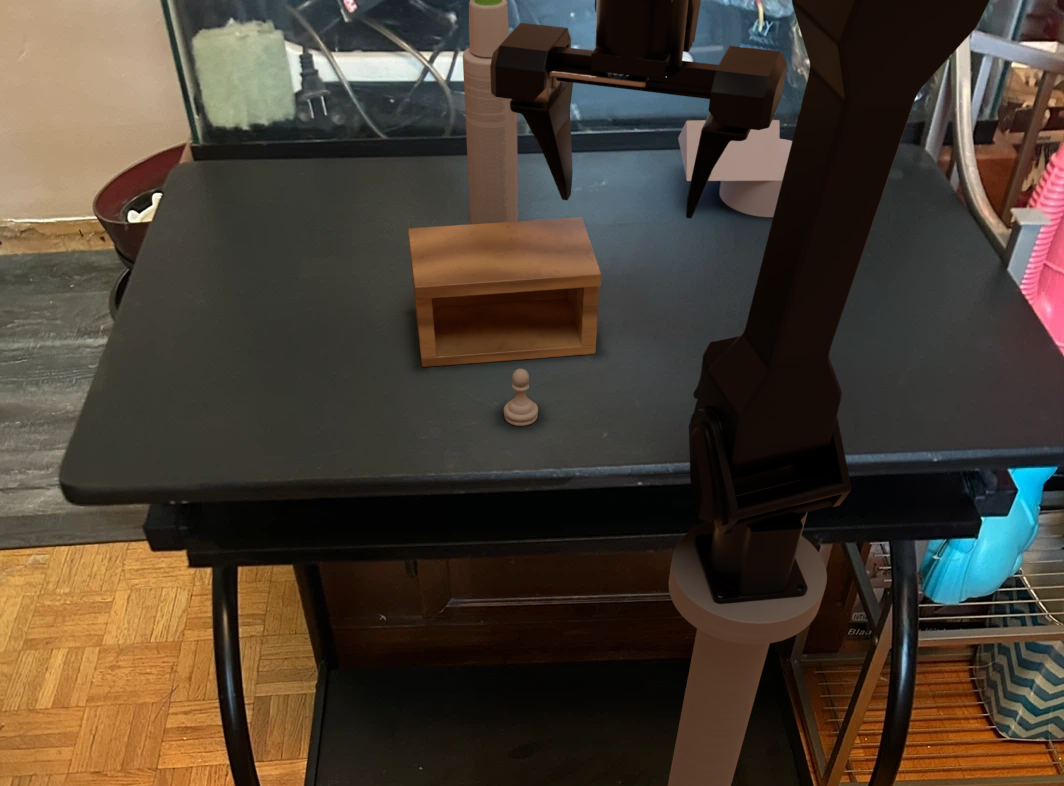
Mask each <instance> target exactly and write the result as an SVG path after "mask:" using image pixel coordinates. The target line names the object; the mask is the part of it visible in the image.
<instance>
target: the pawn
mask: <svg viewBox="0 0 1064 786" xmlns="http://www.w3.org/2000/svg"><path fill="white" fill-rule="evenodd" d="M511 379H512V385H511V388H512V389H513V390H514V391H515V396H514V397H513V398H512V399H510V400H509V401H507V402H506V404H505V405H504V407H503V414H504V415H503V416H504V419H505V421H506V423H508V424H510V425H512V426H515V427H526V426H530V425H531V424H533V423H535V422H536V421H537V420H538V415H539V414H538V413H539V407H538V405H537V403H536V402H535V401H533V400H531V399H530V398H529V397H528V396H527V394H526V391H528V390H529V388H530V383H529V381H530V374H529V372H528V371H527V370H526V369H524V368H517V369H515V370H514V371H513V373H512V377H511Z"/></svg>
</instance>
